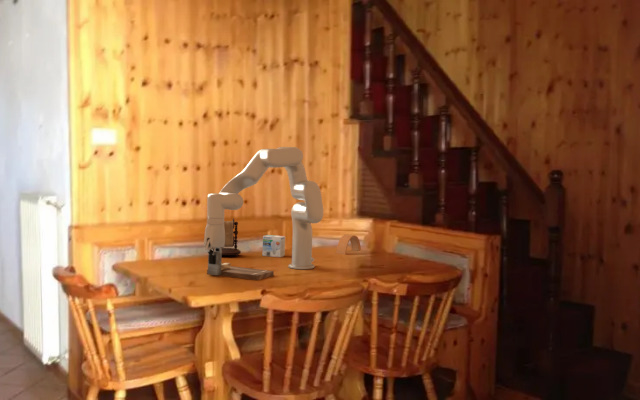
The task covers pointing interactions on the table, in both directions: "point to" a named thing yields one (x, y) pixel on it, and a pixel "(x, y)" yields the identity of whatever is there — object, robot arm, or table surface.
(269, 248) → the light bulb box
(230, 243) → the brown wooden chair
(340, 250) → the arch
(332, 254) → the table surface
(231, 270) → the walnut board
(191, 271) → the table surface
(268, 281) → the table surface
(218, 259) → the marking gauge
